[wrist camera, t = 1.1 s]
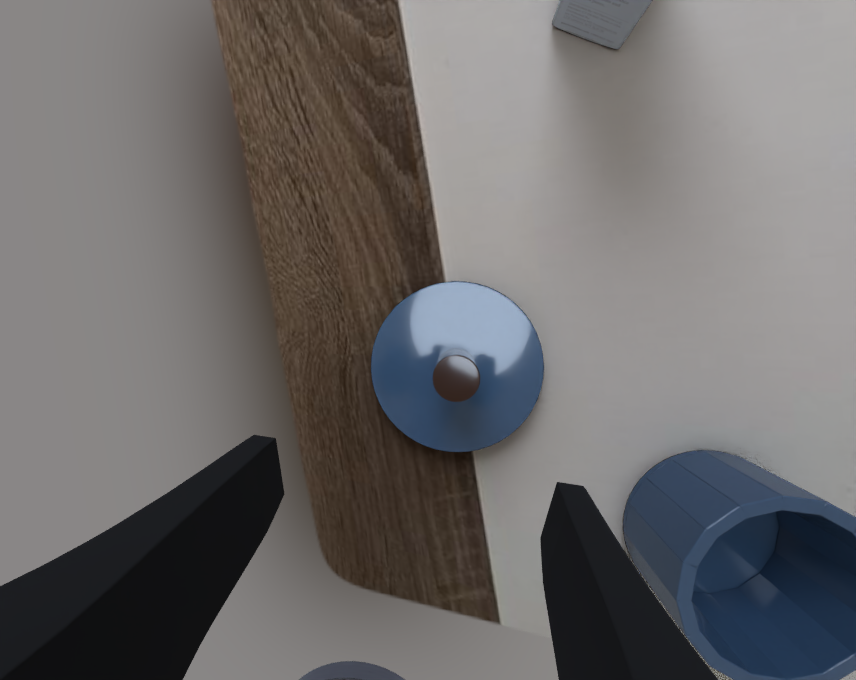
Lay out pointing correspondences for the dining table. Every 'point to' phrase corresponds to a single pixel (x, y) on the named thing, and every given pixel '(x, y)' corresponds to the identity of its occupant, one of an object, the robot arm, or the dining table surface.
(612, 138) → the dining table surface
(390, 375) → the lid
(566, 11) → the cosmetic box
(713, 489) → the bowl
